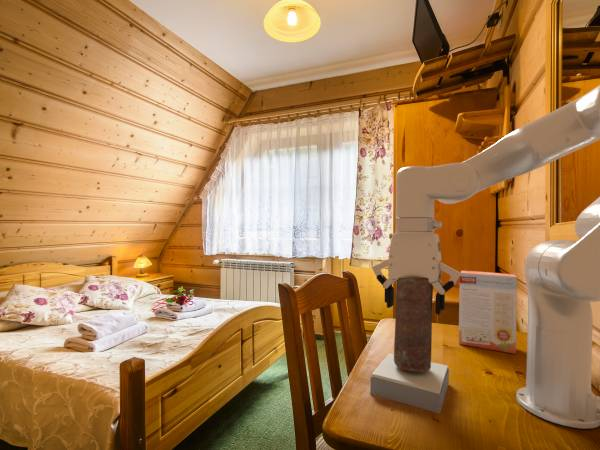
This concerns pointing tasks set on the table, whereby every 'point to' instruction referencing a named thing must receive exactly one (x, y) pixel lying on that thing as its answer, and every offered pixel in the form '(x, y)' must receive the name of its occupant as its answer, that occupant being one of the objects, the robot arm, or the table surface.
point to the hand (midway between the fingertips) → (413, 309)
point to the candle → (413, 324)
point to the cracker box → (488, 310)
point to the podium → (411, 384)
